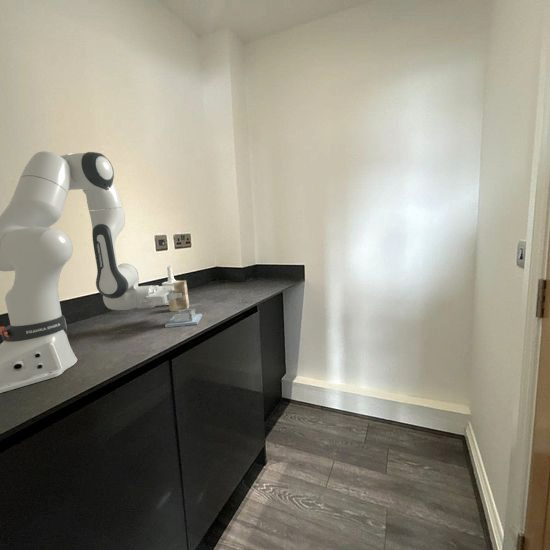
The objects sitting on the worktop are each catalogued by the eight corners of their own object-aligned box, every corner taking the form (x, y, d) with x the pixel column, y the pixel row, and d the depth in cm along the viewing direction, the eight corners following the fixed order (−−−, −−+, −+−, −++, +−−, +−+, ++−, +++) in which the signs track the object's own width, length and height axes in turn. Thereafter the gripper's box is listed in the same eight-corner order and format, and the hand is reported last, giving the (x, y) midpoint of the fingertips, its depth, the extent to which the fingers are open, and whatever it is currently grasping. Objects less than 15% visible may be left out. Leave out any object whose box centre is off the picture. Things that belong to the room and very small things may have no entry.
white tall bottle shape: (161, 304, 153) (156, 267, 151) (177, 300, 160) (173, 264, 157) (170, 307, 146) (165, 267, 143) (187, 302, 152) (182, 265, 150)
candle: (177, 311, 136) (175, 290, 135) (167, 311, 137) (164, 290, 136) (183, 308, 141) (181, 288, 140) (173, 308, 142) (171, 288, 141)
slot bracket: (179, 317, 122) (178, 310, 121) (195, 315, 122) (194, 308, 122) (174, 322, 114) (174, 315, 114) (192, 320, 115) (191, 313, 114)
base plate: (173, 318, 124) (173, 316, 124) (202, 315, 125) (201, 313, 124) (165, 327, 112) (165, 325, 112) (196, 324, 113) (196, 322, 113)
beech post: (177, 310, 116) (173, 282, 114) (179, 307, 119) (176, 281, 118) (187, 309, 116) (183, 281, 114) (189, 306, 120) (186, 280, 118)
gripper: (137, 294, 105) (176, 291, 106) (155, 284, 125) (188, 281, 126) (139, 311, 106) (178, 307, 107) (157, 298, 126) (189, 295, 127)
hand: (183, 293), depth 117 cm, fingers closed on beech post, 4 cm apart
